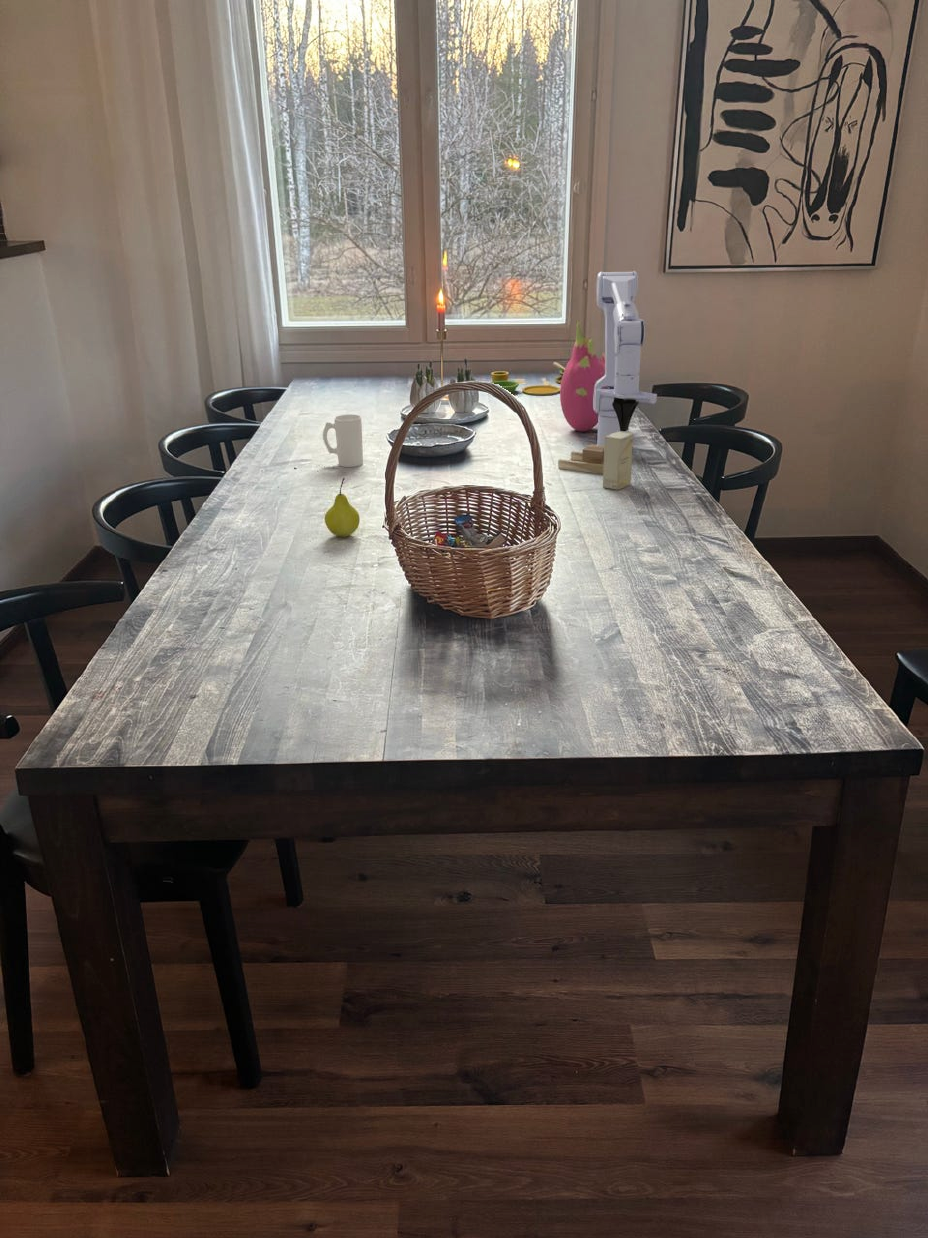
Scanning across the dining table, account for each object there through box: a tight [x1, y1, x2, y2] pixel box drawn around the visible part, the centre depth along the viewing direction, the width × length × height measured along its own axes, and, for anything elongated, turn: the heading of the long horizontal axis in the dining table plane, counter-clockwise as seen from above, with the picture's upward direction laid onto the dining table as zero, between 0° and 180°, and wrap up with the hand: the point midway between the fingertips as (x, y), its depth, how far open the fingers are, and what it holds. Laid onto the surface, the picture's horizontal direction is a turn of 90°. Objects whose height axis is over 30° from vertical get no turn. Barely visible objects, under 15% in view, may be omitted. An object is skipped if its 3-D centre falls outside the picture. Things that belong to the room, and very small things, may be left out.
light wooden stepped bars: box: [557, 450, 604, 475], centre depth 240 cm, size 9×12×2 cm
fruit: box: [323, 477, 361, 538], centre depth 196 cm, size 7×7×12 cm
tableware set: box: [490, 361, 566, 396], centre depth 325 cm, size 41×28×6 cm
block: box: [581, 444, 604, 465], centre depth 239 cm, size 5×5×5 cm
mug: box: [322, 413, 364, 468], centre depth 244 cm, size 10×7×12 cm, turn 86°
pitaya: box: [559, 321, 611, 432], centre depth 265 cm, size 18×14×30 cm
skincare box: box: [602, 431, 634, 491], centre depth 223 cm, size 6×4×12 cm
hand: (624, 430), depth 232 cm, fingers closed
